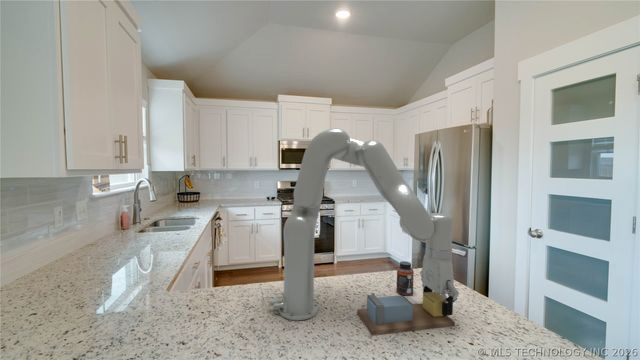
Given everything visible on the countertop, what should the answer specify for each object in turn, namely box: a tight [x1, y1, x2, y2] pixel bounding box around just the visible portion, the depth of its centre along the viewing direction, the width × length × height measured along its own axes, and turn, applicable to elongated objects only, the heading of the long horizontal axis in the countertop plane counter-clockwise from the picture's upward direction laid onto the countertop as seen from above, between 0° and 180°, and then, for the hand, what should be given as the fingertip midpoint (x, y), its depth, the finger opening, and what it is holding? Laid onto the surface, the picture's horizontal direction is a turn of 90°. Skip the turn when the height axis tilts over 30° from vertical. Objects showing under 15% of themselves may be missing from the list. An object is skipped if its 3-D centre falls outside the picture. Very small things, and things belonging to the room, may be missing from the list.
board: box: [356, 302, 456, 336], centre depth 83 cm, size 26×12×1 cm, turn 102°
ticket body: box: [366, 294, 414, 326], centre depth 81 cm, size 12×8×6 cm, turn 102°
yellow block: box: [422, 291, 444, 317], centre depth 85 cm, size 5×6×5 cm
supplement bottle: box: [396, 260, 415, 296], centre depth 101 cm, size 6×6×11 cm
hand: (436, 307), depth 85 cm, fingers open, 9 cm apart
